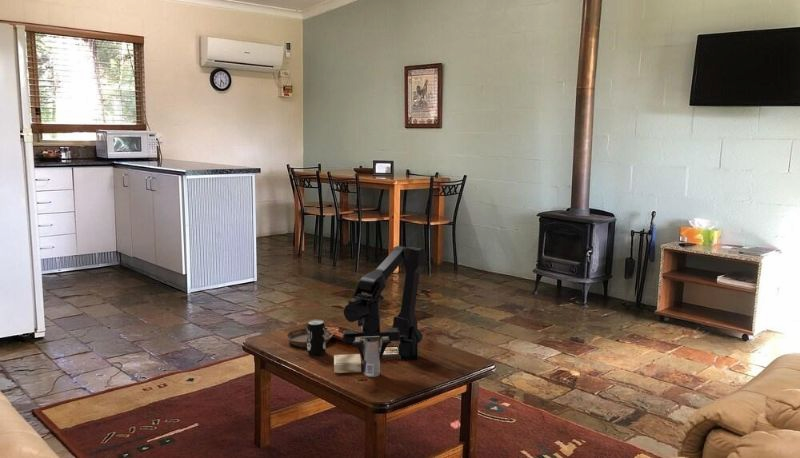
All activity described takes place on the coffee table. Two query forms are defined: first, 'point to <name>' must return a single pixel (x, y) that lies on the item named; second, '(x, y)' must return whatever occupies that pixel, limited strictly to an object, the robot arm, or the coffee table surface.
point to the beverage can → (316, 337)
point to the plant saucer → (303, 337)
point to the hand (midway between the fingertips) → (371, 359)
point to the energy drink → (371, 357)
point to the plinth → (347, 363)
